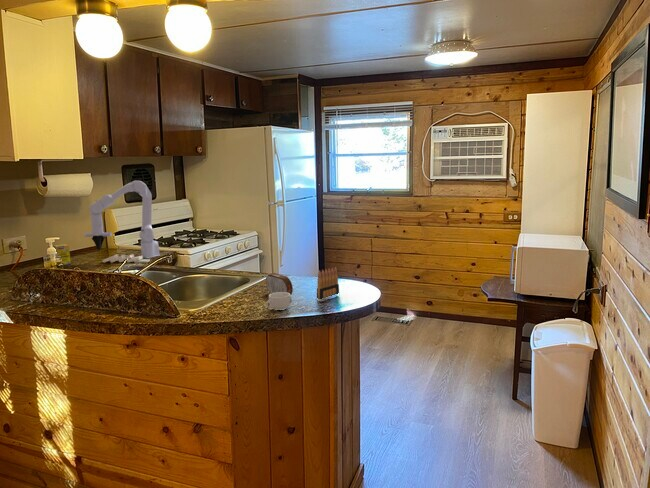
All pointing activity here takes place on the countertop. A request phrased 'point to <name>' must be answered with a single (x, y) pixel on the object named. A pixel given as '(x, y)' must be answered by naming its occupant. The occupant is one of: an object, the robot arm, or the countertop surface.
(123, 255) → the domino
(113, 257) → the domino
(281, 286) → the grey brown rounded slab
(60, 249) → the supplement box
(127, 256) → the domino
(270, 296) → the teacup
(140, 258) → the domino
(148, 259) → the domino
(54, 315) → the countertop surface
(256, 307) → the countertop surface
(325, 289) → the ammunition clip
